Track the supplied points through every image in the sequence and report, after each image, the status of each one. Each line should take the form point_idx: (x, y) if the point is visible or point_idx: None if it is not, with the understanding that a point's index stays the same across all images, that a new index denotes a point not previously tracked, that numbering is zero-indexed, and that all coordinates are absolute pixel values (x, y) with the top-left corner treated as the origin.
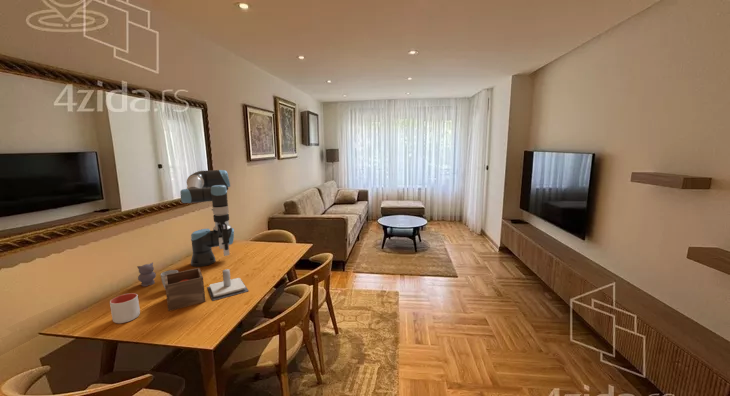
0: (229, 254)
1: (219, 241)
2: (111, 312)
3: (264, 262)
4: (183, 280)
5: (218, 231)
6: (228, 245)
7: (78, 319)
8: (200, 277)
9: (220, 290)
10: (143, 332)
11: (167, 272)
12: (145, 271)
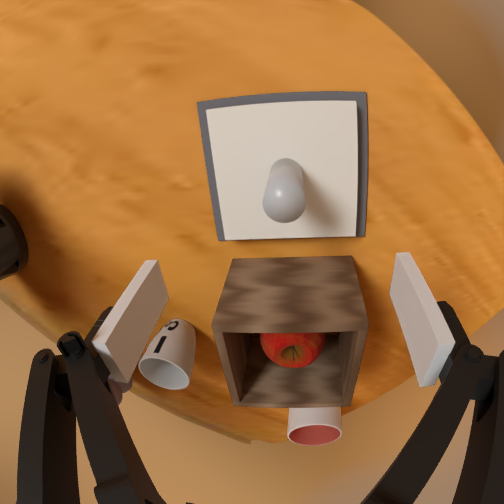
0: (410, 255)
1: (141, 349)
2: (320, 425)
3: (51, 12)
4: (276, 356)
5: (73, 432)
6: (444, 323)
7: (260, 431)
8: (359, 331)
9: (322, 207)
10: (410, 367)
11: (145, 370)
12: (120, 396)
